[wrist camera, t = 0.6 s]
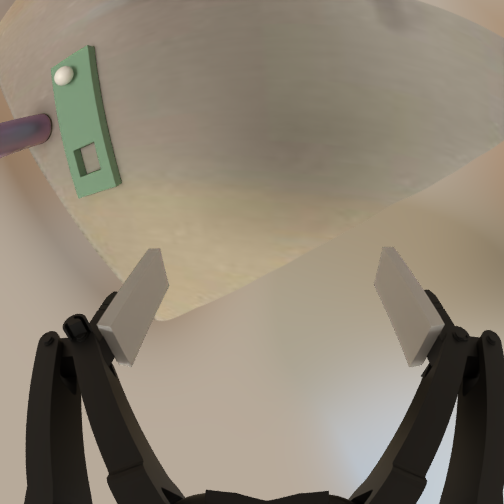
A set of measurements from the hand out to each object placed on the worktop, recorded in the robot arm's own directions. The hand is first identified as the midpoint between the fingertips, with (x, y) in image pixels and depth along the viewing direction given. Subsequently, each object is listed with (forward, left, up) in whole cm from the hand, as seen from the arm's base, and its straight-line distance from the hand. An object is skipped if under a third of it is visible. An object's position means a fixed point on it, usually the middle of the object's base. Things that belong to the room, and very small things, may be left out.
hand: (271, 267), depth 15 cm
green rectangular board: (-16, -29, -27) cm, 42 cm away
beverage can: (-19, -40, -27) cm, 52 cm away
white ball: (-25, -29, -23) cm, 44 cm away
